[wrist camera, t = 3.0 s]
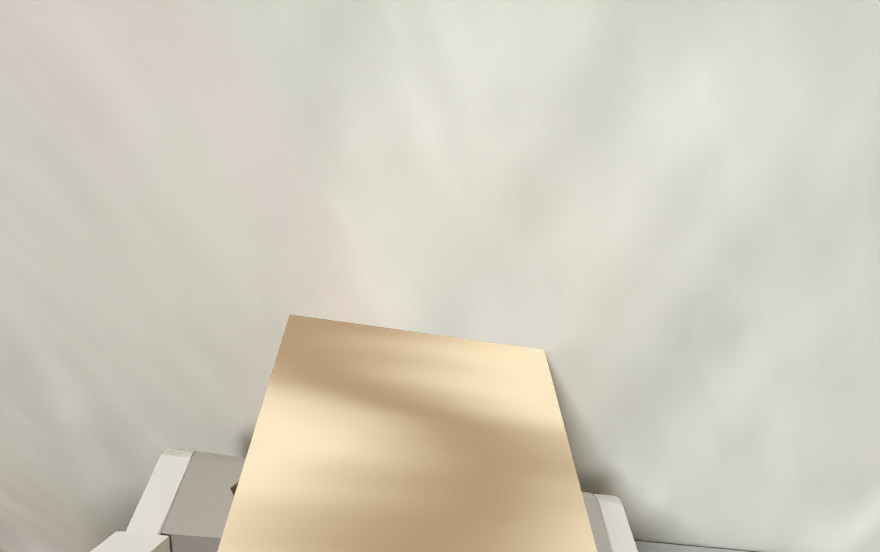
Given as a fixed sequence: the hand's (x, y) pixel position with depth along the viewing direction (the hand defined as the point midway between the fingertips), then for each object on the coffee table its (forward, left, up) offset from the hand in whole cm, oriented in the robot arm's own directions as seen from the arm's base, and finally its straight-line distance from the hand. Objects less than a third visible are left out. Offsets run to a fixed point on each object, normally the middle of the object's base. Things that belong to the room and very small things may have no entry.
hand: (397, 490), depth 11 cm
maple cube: (0, 0, -2) cm, 2 cm away
